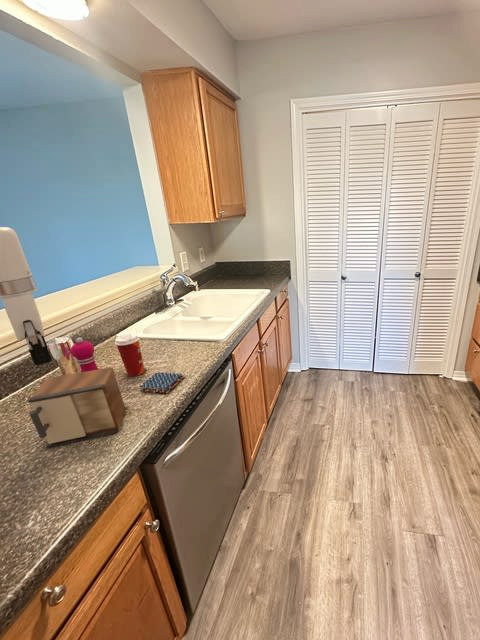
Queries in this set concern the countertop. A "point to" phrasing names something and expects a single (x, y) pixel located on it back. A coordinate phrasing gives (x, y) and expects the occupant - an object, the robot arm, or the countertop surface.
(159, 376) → the woven mat
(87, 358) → the pepper mill
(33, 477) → the countertop surface
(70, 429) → the sliding door
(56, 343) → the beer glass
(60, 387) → the cabinet
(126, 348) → the paper cup
